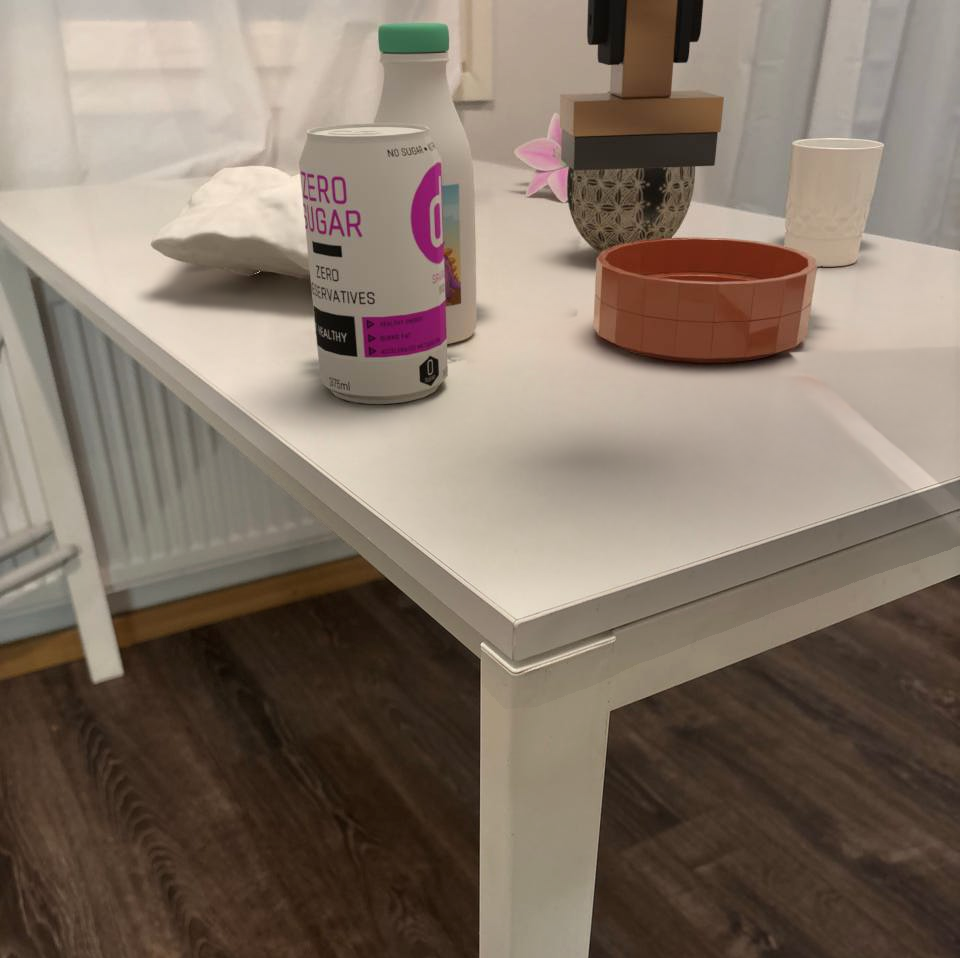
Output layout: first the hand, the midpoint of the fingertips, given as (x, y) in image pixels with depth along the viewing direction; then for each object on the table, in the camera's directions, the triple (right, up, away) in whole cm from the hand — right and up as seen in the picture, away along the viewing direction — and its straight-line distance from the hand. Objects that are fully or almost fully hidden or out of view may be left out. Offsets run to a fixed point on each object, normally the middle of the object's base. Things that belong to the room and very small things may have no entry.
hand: (641, 58), depth 49 cm
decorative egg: (+6, +9, +49) cm, 50 cm away
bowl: (+8, -6, +26) cm, 28 cm away
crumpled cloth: (-26, +5, +45) cm, 52 cm away
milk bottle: (-12, -5, +28) cm, 31 cm away
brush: (0, -4, +2) cm, 5 cm away
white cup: (+24, +8, +47) cm, 54 cm away
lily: (+2, +29, +81) cm, 86 cm away
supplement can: (-14, -12, +17) cm, 25 cm away
